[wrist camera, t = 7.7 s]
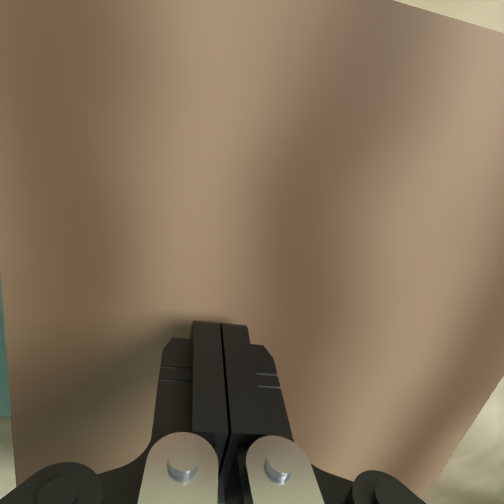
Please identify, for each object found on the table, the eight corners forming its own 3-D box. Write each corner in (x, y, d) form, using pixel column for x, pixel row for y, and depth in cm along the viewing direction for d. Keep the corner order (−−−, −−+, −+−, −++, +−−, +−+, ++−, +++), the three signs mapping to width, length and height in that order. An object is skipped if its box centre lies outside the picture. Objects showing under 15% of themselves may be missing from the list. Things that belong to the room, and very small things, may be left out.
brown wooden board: (558, 77, 13) (689, 89, 10) (375, 437, 21) (412, 515, 17) (49, -64, 10) (-30, -126, 6) (53, 428, 18) (19, 523, 14)
